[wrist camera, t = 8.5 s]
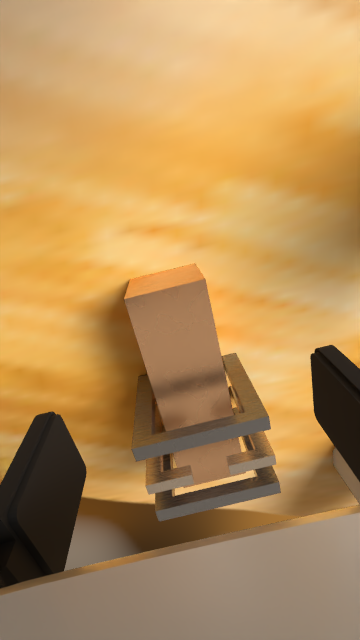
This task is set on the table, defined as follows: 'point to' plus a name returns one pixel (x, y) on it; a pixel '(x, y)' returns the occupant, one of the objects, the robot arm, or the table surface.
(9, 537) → the robot arm
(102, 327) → the table surface
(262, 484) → the grey open box frame
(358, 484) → the cup
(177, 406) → the tall tan block
